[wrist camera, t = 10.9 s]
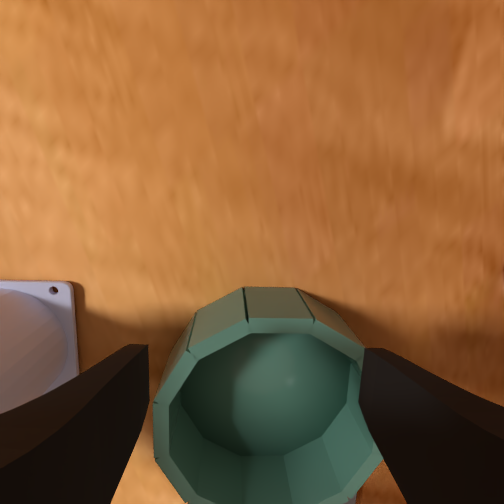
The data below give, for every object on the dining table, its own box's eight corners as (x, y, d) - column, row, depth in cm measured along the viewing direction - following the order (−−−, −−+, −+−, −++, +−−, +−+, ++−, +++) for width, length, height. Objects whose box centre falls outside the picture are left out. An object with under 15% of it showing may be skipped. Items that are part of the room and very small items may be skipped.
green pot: (170, 457, 23) (155, 530, 19) (169, 285, 21) (150, 316, 16) (346, 455, 24) (376, 523, 19) (365, 289, 22) (405, 319, 17)
